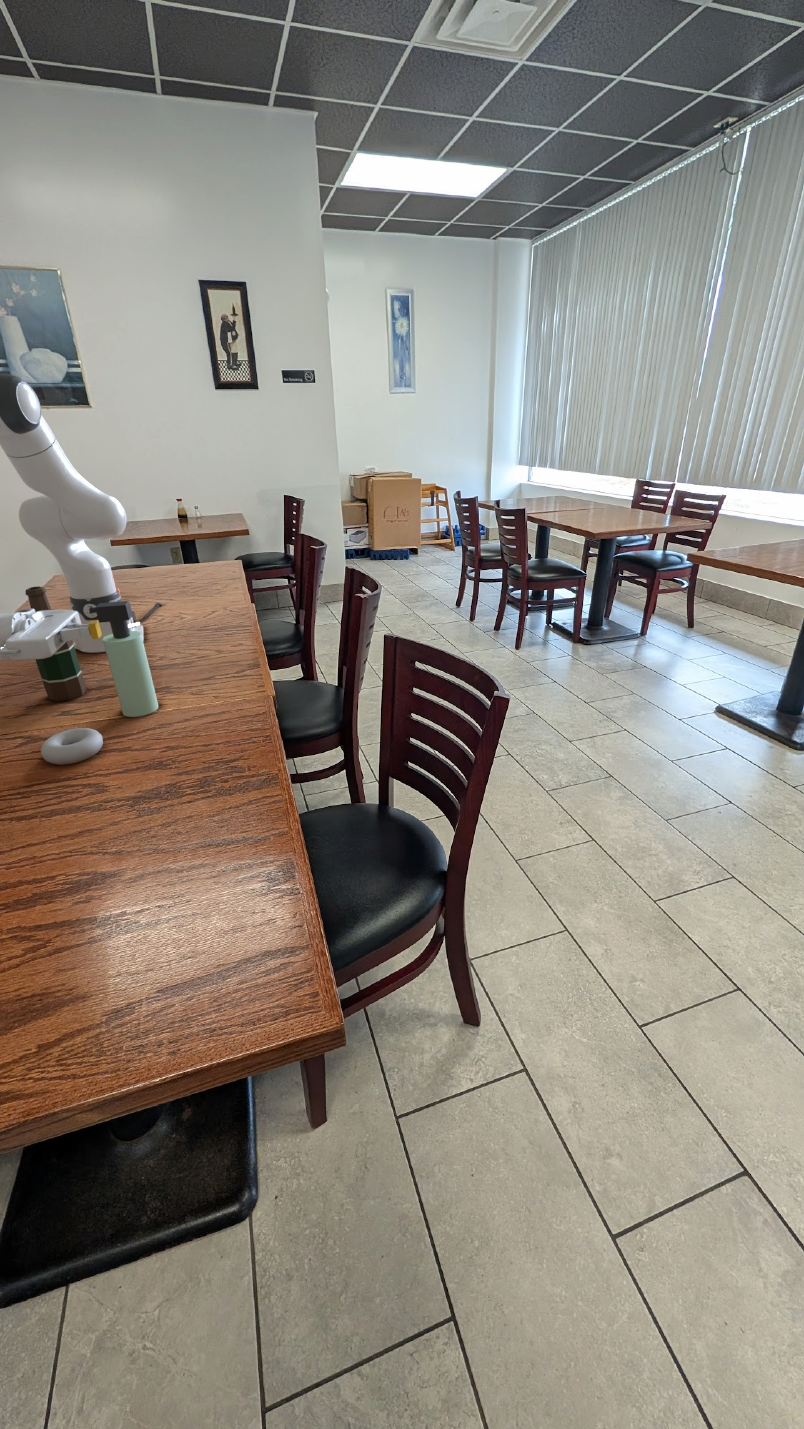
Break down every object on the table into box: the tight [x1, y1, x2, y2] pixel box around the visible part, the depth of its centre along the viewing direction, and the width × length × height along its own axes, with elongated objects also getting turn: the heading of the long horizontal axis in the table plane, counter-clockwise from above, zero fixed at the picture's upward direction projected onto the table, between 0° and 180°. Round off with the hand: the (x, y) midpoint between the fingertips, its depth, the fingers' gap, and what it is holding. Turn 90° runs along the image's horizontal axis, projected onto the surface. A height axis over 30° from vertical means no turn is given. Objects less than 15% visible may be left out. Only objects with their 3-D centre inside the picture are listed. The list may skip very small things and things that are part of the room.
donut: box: [40, 727, 104, 766], centre depth 105 cm, size 10×4×10 cm
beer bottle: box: [25, 585, 87, 702], centre depth 125 cm, size 8×8×24 cm
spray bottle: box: [89, 600, 159, 718], centre depth 117 cm, size 7×8×22 cm
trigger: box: [88, 620, 102, 639], centre depth 114 cm, size 2×1×3 cm, turn 11°
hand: (91, 630), depth 113 cm, fingers closed, pressing on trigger
